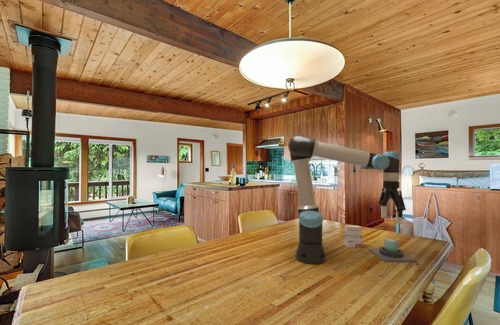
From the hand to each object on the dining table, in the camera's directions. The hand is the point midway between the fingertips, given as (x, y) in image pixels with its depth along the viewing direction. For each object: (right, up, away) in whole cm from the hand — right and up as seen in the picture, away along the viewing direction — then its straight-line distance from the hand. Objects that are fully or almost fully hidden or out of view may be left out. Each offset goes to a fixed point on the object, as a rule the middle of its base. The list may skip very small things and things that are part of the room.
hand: (391, 220), depth 130 cm
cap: (0, -18, 0) cm, 18 cm away
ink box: (-14, -19, +15) cm, 28 cm away
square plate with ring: (0, -19, 0) cm, 19 cm away
